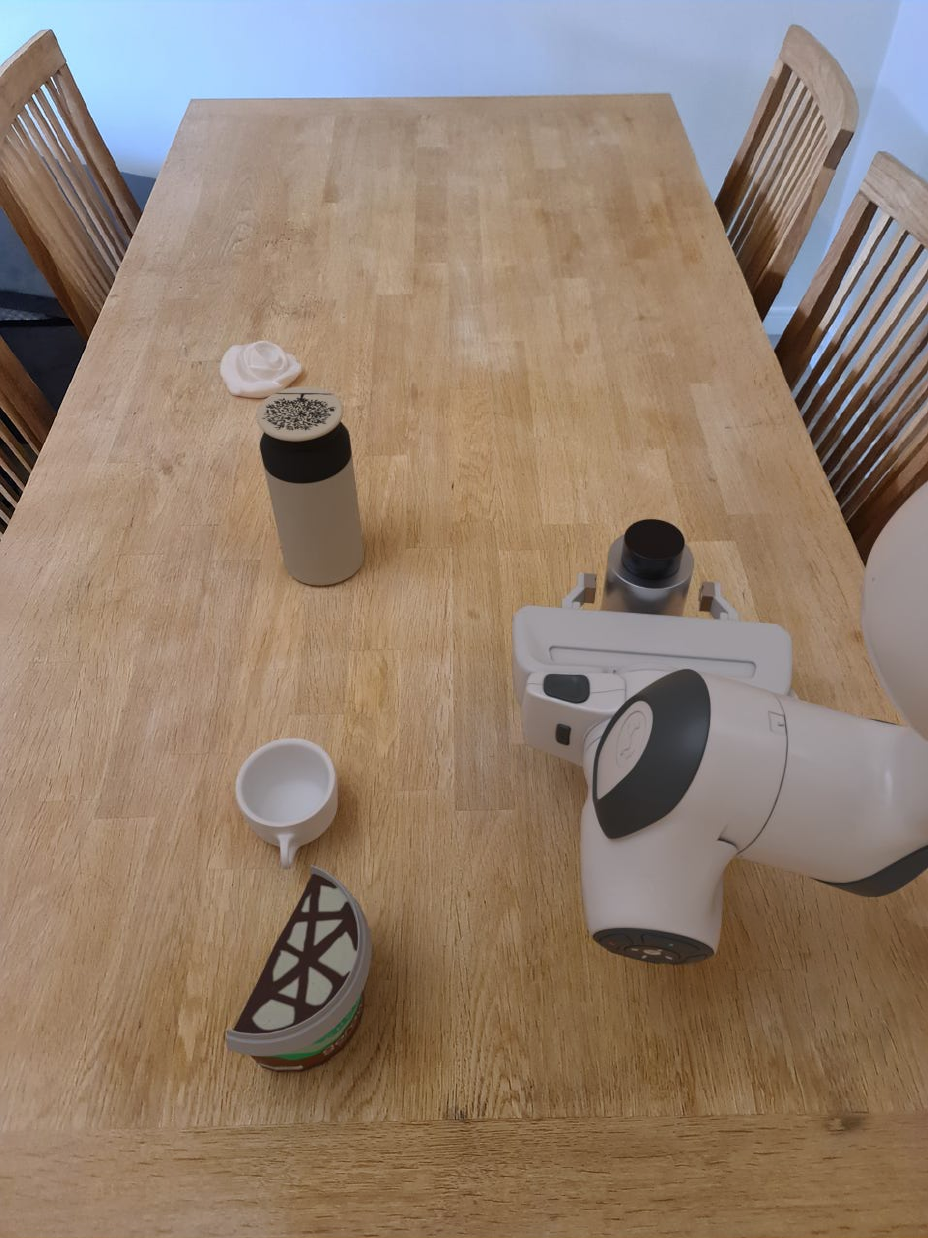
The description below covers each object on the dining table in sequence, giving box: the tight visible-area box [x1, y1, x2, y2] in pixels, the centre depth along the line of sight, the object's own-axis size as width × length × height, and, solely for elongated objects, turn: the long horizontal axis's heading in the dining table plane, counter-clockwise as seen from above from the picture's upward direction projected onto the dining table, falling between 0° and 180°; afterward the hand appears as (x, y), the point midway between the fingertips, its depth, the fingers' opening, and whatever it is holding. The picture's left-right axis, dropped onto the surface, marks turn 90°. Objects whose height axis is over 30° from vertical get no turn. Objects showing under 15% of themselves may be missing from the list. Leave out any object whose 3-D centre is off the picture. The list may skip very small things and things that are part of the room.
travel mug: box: [256, 385, 365, 586], centre depth 90 cm, size 8×8×18 cm
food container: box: [224, 864, 373, 1073], centre depth 63 cm, size 12×6×10 cm, turn 160°
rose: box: [219, 340, 303, 399], centre depth 116 cm, size 10×4×10 cm
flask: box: [599, 518, 695, 617], centre depth 76 cm, size 6×6×14 cm
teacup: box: [234, 737, 339, 871], centre depth 75 cm, size 10×8×5 cm
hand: (647, 582), depth 76 cm, fingers open, 8 cm apart
